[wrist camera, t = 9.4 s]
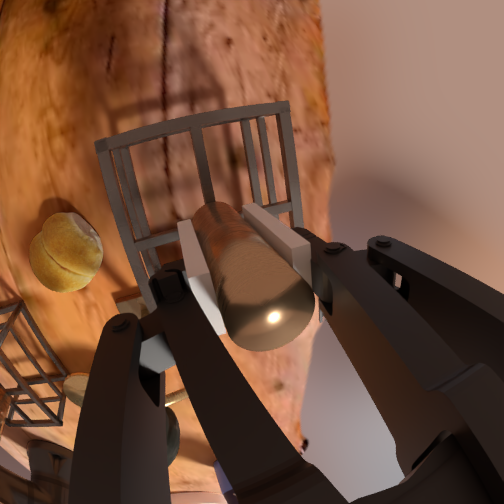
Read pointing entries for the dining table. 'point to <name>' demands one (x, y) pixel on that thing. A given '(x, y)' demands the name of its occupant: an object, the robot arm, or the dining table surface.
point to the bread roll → (65, 253)
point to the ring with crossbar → (198, 498)
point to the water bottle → (225, 485)
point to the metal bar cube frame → (3, 398)
